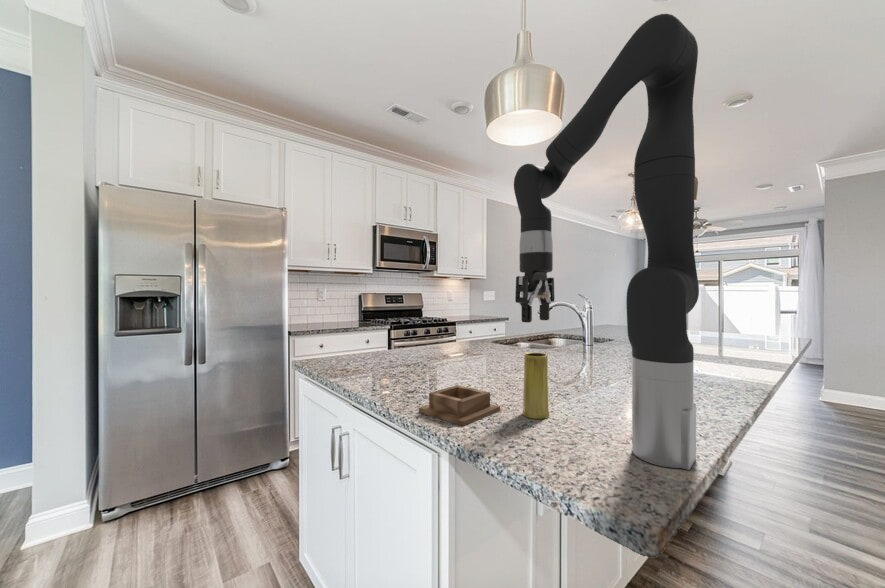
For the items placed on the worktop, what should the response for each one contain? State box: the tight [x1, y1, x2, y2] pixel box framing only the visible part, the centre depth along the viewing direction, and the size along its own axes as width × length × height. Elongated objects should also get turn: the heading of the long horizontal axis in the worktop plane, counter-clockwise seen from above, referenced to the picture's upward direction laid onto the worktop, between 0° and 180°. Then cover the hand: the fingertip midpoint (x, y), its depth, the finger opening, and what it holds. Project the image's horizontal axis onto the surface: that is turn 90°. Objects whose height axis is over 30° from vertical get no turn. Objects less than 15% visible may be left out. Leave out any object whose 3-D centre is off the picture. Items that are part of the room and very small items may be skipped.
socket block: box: [418, 384, 501, 427], centre depth 89 cm, size 14×14×4 cm
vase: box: [522, 352, 550, 420], centre depth 86 cm, size 6×6×14 cm
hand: (535, 321), depth 86 cm, fingers open, 8 cm apart
